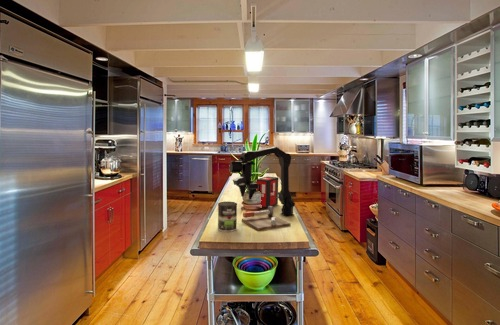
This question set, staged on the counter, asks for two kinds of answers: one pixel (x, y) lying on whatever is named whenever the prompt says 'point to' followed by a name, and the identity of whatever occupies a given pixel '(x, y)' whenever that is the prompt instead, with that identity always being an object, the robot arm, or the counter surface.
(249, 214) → the lever
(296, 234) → the counter surface
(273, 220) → the grey brown rectangular block
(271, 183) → the cleaning product box
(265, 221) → the base
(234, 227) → the coffee can
